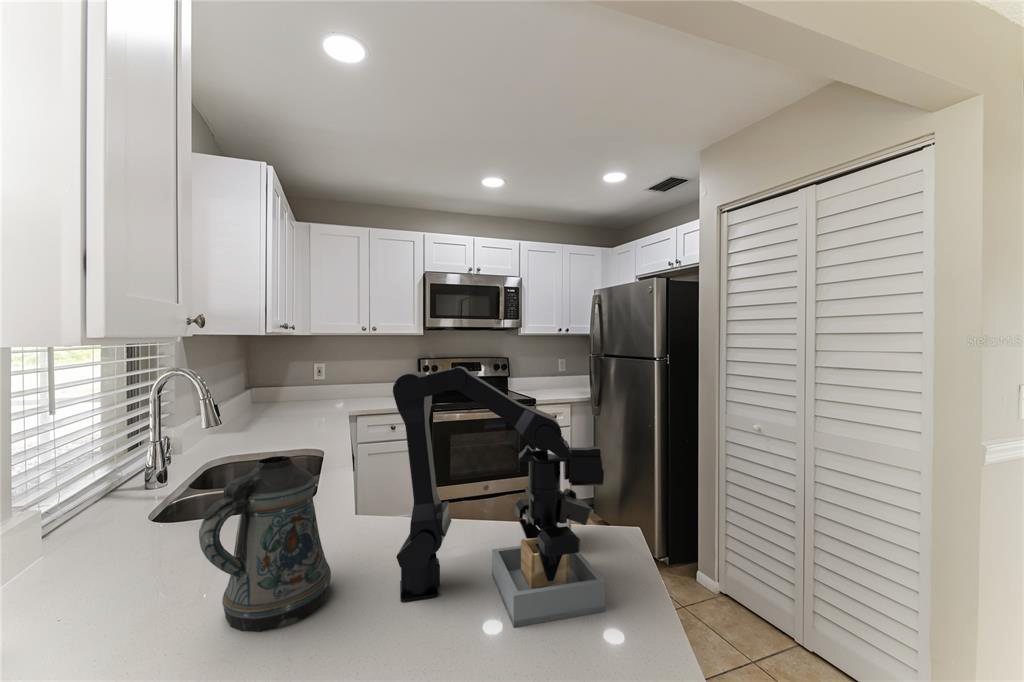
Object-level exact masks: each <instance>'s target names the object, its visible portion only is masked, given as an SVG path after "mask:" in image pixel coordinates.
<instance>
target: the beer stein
mask: <svg viewBox="0 0 1024 682" xmlns="http://www.w3.org/2000/svg"><path fill="white" fill-rule="evenodd" d="M316 485H317V479H316V477H315V476H314V475H313V474H312V473H310V472H309V471H308V470H306V469H304V468H303V467H300V466H298V465H297V464H295V463H293V462H292V459H291V458H290V456H286V455H278V456H277V455H276V456H275V455H274V456H270V457H266V458H263V459H260V460H259V461H257V464H256V466H255V468H253V469H252V470H251V471H250V472H249V473H248V474H247V475H244V476H240V477H238V478H235V479H232V480H230V481H229V482H227V483H226V484H225V486H224V489H223V498H221V499H220V500H217V501H215V502H214V503H213V504H212V505H210V507H208V509H206V511H205V512H204V514H203V519H202V521H201V524H200V527H199V529H198V541H199V546H200V549H201V552H202V554H203V555H204V556H205V558H206V559H207V560H208V561H209V562H210V563H211V564H212V565H213V566H214V567H216V568H217V569H219V571H220V570H221V571H222V572H224V573H225V574H227V575H230V576H229V580H228V582H227V586H226V587H225V590H224V592H223V595H222V602H221V604H222V608H223V611H224V615H225V617H224V618H225V619H226V621H227V622H228V624H229V626H230V627H231V628H232V629H236V630H238V631H240V632H249V633H251V632H254V633H260V632H261V633H262V632H268V631H272V630H277V629H282V628H284V627H287V626H290V625H293V624H296V623H299V622H300V621H302V620H303V619H305V618H307V617H308V616H310V615H312V614H313V613H314V612H315V611H316V610H318V609H319V608H321V607H322V605H323V604H324V603H325V601H326V600H327V599H328V591H329V587H330V582H331V578H332V571H331V568H330V565H329V563H328V561H327V558H326V555H325V553H324V549H323V545H322V540H321V538H320V532H319V527H318V520H317V515H316V509H315V508H316V507H315V503H314V492H315V491H316ZM238 515H239V518H238V522H237V530H236V535H235V542H234V548H233V550H234V551H233V555H232V553H230V552H229V551H228V550H227V549H226V548H225V547H224V546H223V544H222V542H221V539H220V537H221V536H220V535H221V531H222V527H223V526H224V524H225V522H226V521H227V520H228V519H230V517H233V516H238Z"/></svg>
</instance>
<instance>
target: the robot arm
mask: <svg viewBox="0 0 1024 682" xmlns="http://www.w3.org/2000/svg"><path fill="white" fill-rule="evenodd" d="M392 386H393V387H392V395H393V398H394V402H395V405H396V408H397V411H398V413H399V415H400V418H401V419H402V421H403V423H404V426H405V434H406V444H407V450H408V451H407V452H408V453H407V454H408V459H409V461H408V462H409V470H410V479H411V489H412V497H413V506H412V513H411V517H410V528H409V534H408V535H407V537H406V538H405V541H404V542H403V544H402V546H401V548H400V549H399V551H398V553H397V554H396V560H397V563H398V566H399V568H400V581H399V584H400V585H399V590H400V591H399V595H400V596H399V597H400V598H399V601H400V602H402V603H403V602H408V601H409V602H410V601H415V600H424V599H429V598H435V597H436V598H437V597H438V596H439V592H438V591H439V590H438V588H440V586H441V563H440V560H439V558H438V557H437V552H438V551H439V550H440V549H441V547H442V544H443V541H444V540H445V538H446V536H447V533H448V531H449V529H450V527H451V523H452V518H451V517H450V513H449V510H450V509H449V507H450V502H449V501H448V500H447V501H444V502H442V500H441V499H440V497H439V494H438V490H437V489H438V488H437V482H436V481H437V480H436V470H435V463H434V454H433V445H432V436H431V435H432V434H431V428H430V414H431V409H432V401H433V396H435V395H438V394H442V393H445V392H449V391H454V390H455V391H458V392H459V393H461V394H462V395H464V396H466V397H468V398H469V399H471V400H472V401H474V402H475V403H477V404H479V405H481V406H482V407H484V408H485V409H487V410H489V411H490V412H491V413H493V414H495V415H496V416H498V417H500V418H501V419H502V420H504V421H506V422H507V423H509V424H510V425H511V426H512V427H514V429H515V430H516V431H517V432H518V433H519V434H520V435H521V436H522V437H523V438H524V439H525V440H526V441H527V442H529V443H530V444H531V445H532V446H533V447H534V448H535V449H532V447H531V446H530V445H526V446H525V447H524V449H523V450H522V451H520V452H519V453H518V461H519V462H528V486H527V487H525V494H526V495H527V496H528V498H523V499H518V500H517V502H516V503H515V505H514V515H515V516H516V517H517V518H518V519H519V520H518V522H519V524H520V527H521V529H522V532H523V534H524V537H525V539H529V538H537V537H538V544H535V545H536V548H537V551H538V554H539V557H540V560H541V563H542V566H543V569H544V572H545V575H546V578H547V580H548V581H553V580H554V578H555V575H556V572H557V569H558V566H559V563H560V560H561V558H562V555H565V554H572V553H579V552H580V551H581V539H580V537H578V535H576V533H575V532H574V531H573V530H572V528H571V529H570V528H568V527H567V526H565V527H558V526H557V523H560V524H562V523H567V519H569V520H571V522H572V521H573V522H576V523H580V525H582V526H587V524H588V521H589V518H590V516H591V515H590V514H591V512H592V506H590V505H589V504H587V503H586V502H585V501H583V500H582V499H580V498H579V497H577V493H576V491H574V490H573V489H570V488H567V487H566V488H565V489H564V490H563V491H562V490H561V463H563V464H562V467H563V468H562V469H563V470H562V472H563V473H562V475H563V479H564V480H565V481H566V480H568V481H567V482H568V483H569V485H570V486H572V487H573V486H575V487H576V486H577V487H578V486H579V487H589V486H590V487H603V485H604V480H605V479H604V477H605V470H604V468H603V461H602V455H601V454H602V452H601V449H600V447H599V446H587V447H572V446H571V447H570V445H569V442H568V441H567V440H565V439H564V437H563V436H562V430H561V429H562V428H561V427H560V424H559V422H558V420H557V419H556V418H555V416H554V415H553V414H550V413H547V412H546V411H543V410H540V409H537V408H534V407H531V406H528V405H526V404H523V403H521V402H518V401H517V400H516V399H514V398H512V397H510V396H509V395H507V394H505V392H502V391H501V390H499V389H498V388H496V387H495V386H493V385H491V384H489V383H488V382H487V381H485V380H483V379H482V378H480V377H478V376H477V375H475V374H473V373H472V372H470V371H469V370H468V368H467V367H464V366H455V367H452V368H451V369H447V370H442V371H438V372H435V373H434V372H433V373H429V374H426V373H424V372H421V371H414V372H410V373H409V372H408V373H405V374H402V375H400V376H399V377H398V378H397V379H396V380H395V382H394V383H393V385H392ZM549 452H551V453H549Z"/></svg>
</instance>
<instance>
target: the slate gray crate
mask: <svg viewBox="0 0 1024 682" xmlns="http://www.w3.org/2000/svg"><path fill="white" fill-rule="evenodd" d="M491 576H493V577H492V579H493V582H494V581H495V582H494V584H495V587H496V589H497V591H498V594H499V596H500V598H501V600H502V603H503V606H504V607H505V610H506V611H505V612H506V613H507V615H508V617H509V619H510V623H511V625H512V627H513V628H518V627H524V626H525V627H526V626H529V625H530V626H531V625H536V624H541V623H547V622H552V621H558V620H564V619H565V620H566V619H569V618H576V617H581V616H587V615H593V614H597V613H604V612H606V581H605V579H604V578H603V577H602V576H601V574H599V573H598V571H597V570H596V569H595V568H594V567H593V565H591V564H590V563H589V561H588V560H587V559H586V558H585V557H584V555H583V554H582V553H581V552H580V551H579V553H572V554H569V584H563V585H556V586H550V587H543V588H537V589H530V587H529V586H528V584H527V582H526V580H525V578H524V577H523V575H522V573H521V545H516V546H509V547H500V548H495V549H493V548H492V549H491Z"/></svg>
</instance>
